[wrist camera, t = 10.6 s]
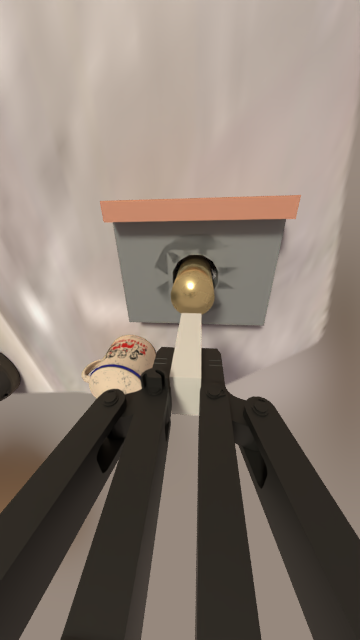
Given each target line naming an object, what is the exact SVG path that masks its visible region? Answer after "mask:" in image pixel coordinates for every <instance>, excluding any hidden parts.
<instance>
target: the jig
mask: <svg viewBox="0 0 360 640" xmlns="http://www.w3.org/2000/svg"><path fill="white" fill-rule="evenodd" d="M300 197H301V195H290V196H256V197H222V198H188V199H153V200H119V201H100V205H101V210H102V215H103V221H104V222H113V227H114V232H115V238H116V244H117V250H118V256H119V262H120V268H121V274H122V280H123V286H124V292H125V298H126V304H127V310H128V316H129V322H150V323H180V318H181V313H179V312H178V311H177V310H176V309H175V308H174V306H173V304H172V302H171V290H172V287H173V284H174V282H175V279H176V265H177V263H178V261H180V260H181V259H183V258H185V257H186V256H188V255H203V256H205V257H206V258H208V259H210V260H211V261H213V263H214V264H215V266H216V268H217V269H216V277H215V279H214V280H213V288H214V295H215V298H214V303H213V305H212V307H211V308H210V309H209V310H208V311H207V312H206V313H204V314H202V315H201V324H223V325H259V326H264V321H265V317H266V312H267V307H268V302H269V298H270V293H271V288H272V283H273V279H274V274H275V269H276V264H277V260H278V255H279V250H280V245H281V241H282V236H283V231H284V226H285V222H286V219H296V214H297V210H298V206H299V201H300Z"/></svg>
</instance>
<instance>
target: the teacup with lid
mask: <svg viewBox="0 0 360 640" xmlns="http://www.w3.org/2000/svg"><path fill="white" fill-rule="evenodd" d="M155 357H156V354H155V350H154V348H153V347H152V345H151V344H150V343H149V342H148V341H146V340H145V339H143V338H141V337H138V336H134V335H126V336H122V337H119V338H118V339H116V340H115V341H114V342H113V344H112V345H111V347H110V349H109V350H108V352H107V353H106V355H105V356H104V358H103V359H102V360H97V361H94V362H92V363H91V364H89V365H88V366H87V367H86V368H85V369H84V370H83V372H82V378H83V380H84V381H85V382H88V383H89V387H90V390H91V392H92V394H93V395H94V396H95V398H96V399H97V398H98V397H99V396H100V395H101V394H102V393H103V392H105V391H107V390H110V389H120V390H122V391H123V392H124V394H127V393H132V392H136V391H138V390H140V389H142V387H141V381H140V376H141V374H142V373H143V372H144V371H146V370H148V369H150V368H152V367H153V364H154V360H155ZM95 368H96V369H95ZM93 369H95V370H94V371H93V372H92V373H91V375H90V376H88V374H89V373H90V372H91V371H92V370H93Z"/></svg>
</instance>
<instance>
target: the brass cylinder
mask: <svg viewBox="0 0 360 640" xmlns="http://www.w3.org/2000/svg"><path fill="white" fill-rule="evenodd" d="M214 298H215V295H214V288H213V281H212V274H211V267H210V264H209V262H208V261H207V259H205V258H204V257H202V256H200V255H191V256H188V257H186V258H185V259H184V260H183V261H182V263H181V265H180V268H179V271H178V273H177V276H176V279H175V282H174V284H173V287H172V290H171V302H172V304H173V306H174V308H175V309H176V310H177V311H178V312H179V313H201V315H202V314H204V313H206V312H207V311H208V310H209V309H210V308H211V307H212V305H213V303H214Z"/></svg>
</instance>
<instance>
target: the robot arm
mask: <svg viewBox="0 0 360 640" xmlns="http://www.w3.org/2000/svg"><path fill="white" fill-rule="evenodd" d="M140 381H141V387H142V389H140V390H138V391H136V392H132V393H127V394H124V392H123V391H122V390H120V389H110V390H107V391H105V392H103V393H102V394H101V395H100V396H99V397H98V398H97V399H96V400H95V402H94V403H93V404H92V405H91V407H90V408H89V409H88V410H87V411H86V412H85V413H84V415H83V416H82V417H81V418H80V419H79V421H78V422H77V423H76V424H75V425H74V427H73V428H72V429H71V430H70V431H69V433H68V434H67V435H66V436H65V437H64V439H63V440H62V441H61V442H60V443H59V444H58V446H57V447H56V448H55V449H54V451H53V452H52V453H51V454H50V455H49V456H48V458H47V459H46V460H45V461H44V462H43V464H42V465H41V466H40V467H39V468H38V470H37V471H36V472H35V473H34V474H33V475H32V477H31V478H30V479H29V480H28V481H27V483H26V484H25V485H24V486H23V488H22V489H21V490H20V491H19V492H18V493H17V495H16V496H15V497H14V498H13V499H12V500H11V502H10V503H9V504H8V505H7V507H6V508H5V509H4V510H3V511H2V512H1V514H0V640H19V638H20V636H21V634H22V633H23V631H24V629H25V627H26V625H27V624H28V622H29V620H30V618H31V616H32V615H33V613H34V611H35V609H36V607H37V605H38V604H39V602H40V600H41V598H42V596H43V595H44V593H45V591H46V589H47V588H48V586H49V584H50V582H51V580H52V578H53V576H54V575H55V573H56V571H57V570H58V568H59V566H60V564H61V562H62V561H63V559H64V557H65V555H66V553H67V551H68V550H69V548H70V546H71V544H72V543H73V541H74V539H75V537H76V535H77V533H78V531H79V530H80V528H81V526H82V524H83V523H84V521H85V519H86V517H87V515H88V514H89V512H90V510H91V508H92V506H93V505H94V503H95V501H96V499H97V497H98V496H99V494H100V492H101V490H102V488H103V486H104V485H105V483H106V481H107V479H108V477H109V476H110V474H111V472H112V470H113V469H114V467H115V465H116V463H117V461H118V460H119V462H118V464H117V467H116V470H115V474H114V477H113V480H112V483H111V486H110V489H109V492H108V495H107V498H106V502H105V504H104V508H103V511H102V514H101V517H100V520H99V523H98V526H97V529H96V532H95V535H94V538H93V541H92V545H91V548H90V551H89V554H88V557H87V560H86V563H85V566H84V569H83V572H82V575H81V579H80V582H79V585H78V588H77V591H76V594H75V597H74V600H73V603H72V606H71V610H70V613H69V616H68V619H67V622H66V625H65V628H64V631H63V634H62V637H61V640H141V633H142V627H143V619H144V613H145V605H146V598H147V591H148V584H149V577H150V570H151V561H152V555H153V547H154V540H155V533H156V526H157V519H158V511H159V504H160V497H161V491H162V483H163V476H164V469H165V462H166V454H167V448H168V440H169V433H170V426H171V421H170V417H171V410H172V414H182V415H195V416H199V434H198V435H199V443H198V501H197V502H198V503H197V504H198V505H197V561H196V565H197V566H196V567H197V568H196V619H195V623H196V624H195V640H261V634H260V626H259V620H258V611H257V604H256V597H255V589H254V582H253V575H252V568H251V560H250V552H249V545H248V538H247V530H246V524H245V515H244V508H243V501H242V494H241V486H240V479H239V471H238V464H237V456H236V449H235V443H236V444H238V445H239V448H240V450H241V453H242V455H243V458H244V461H245V463H246V466H247V468H248V471H249V473H250V476H251V479H252V481H253V483H254V486H255V489H256V492H257V494H258V497H259V499H260V502H261V505H262V507H263V510H264V512H265V515H266V517H267V519H268V523H269V525H270V528H271V530H272V533H273V536H274V538H275V541H276V543H277V546H278V549H279V551H280V554H281V556H282V559H283V561H284V564H285V567H286V569H287V572H288V574H289V577H290V580H291V582H292V585H293V587H294V590H295V593H296V595H297V598H298V600H299V603H300V606H301V608H302V611H303V613H304V616H305V619H306V621H307V624H308V626H309V629H310V631H311V634H312V637H313V639H314V640H360V539H359V538H358V536H357V535H356V533H355V532H354V530H353V528H352V527H351V525H350V524H349V522H348V521H347V519H346V517H345V516H344V514H343V513H342V511H341V510H340V508H339V507H338V505H337V503H336V502H335V500H334V499H333V497H332V496H331V494H330V493H329V491H328V489H327V488H326V486H325V485H324V483H323V482H322V480H321V479H320V477H319V475H318V474H317V472H316V471H315V469H314V468H313V466H312V464H311V463H310V461H309V460H308V458H307V457H306V455H305V454H304V452H303V450H302V449H301V447H300V446H299V444H298V443H297V441H296V439H295V438H294V436H293V435H292V433H291V432H290V430H289V429H288V427H287V425H286V424H285V422H284V421H283V419H282V418H281V416H280V415H279V413H278V411H277V410H276V408H275V407H274V406H273V404H272V403H271V402H269V401H268V400H266V399H265V398H261V397H251V398H249V399H247V401H246V400H243V399H240V398H237V397H235V396H233V395H232V394H230V393H229V392H228V391H227V389H226V387H225V382H224V374H223V367H222V359H221V354H220V352H219V351H218V350H217V349H211V348H201V313H181V318H180V323H179V329H178V334H177V339H176V344H175V348H172V347H161V348H160V349H159V350H158V351H157V354H156V357H155V360H154V364H153V367H152V368H150V369H148V370H146V371H144V372H143V373H142V374H141V376H140ZM19 384H20V376H19V374H18V371H17V370H16V368H15V367H14V365H13V364H12V363H11V362H10V361H9V360H8V359H7V358H6V357H5V356H3V355H2V354H1V353H0V401H2V400H3V399H5V398H7V397H8V396H10V395H11V394H12V393H13V392H14V391H15V390H16V389H17V388H18V387H19Z"/></svg>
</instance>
